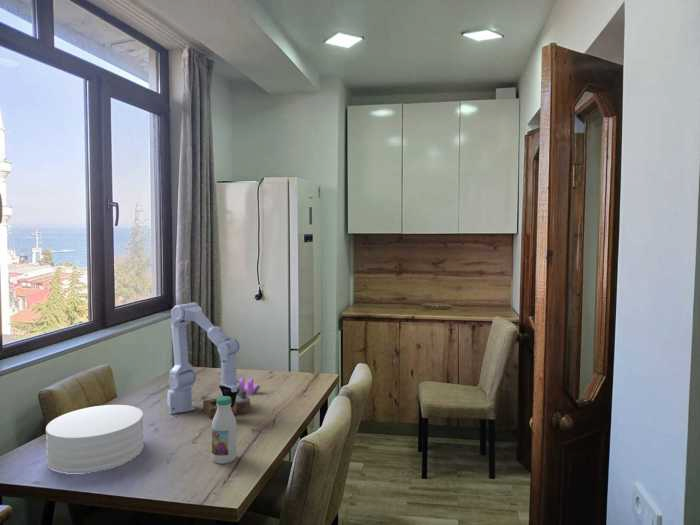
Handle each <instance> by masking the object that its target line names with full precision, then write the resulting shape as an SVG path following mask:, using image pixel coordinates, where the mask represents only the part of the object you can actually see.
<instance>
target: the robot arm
mask: <svg viewBox="0 0 700 525" xmlns="http://www.w3.org/2000/svg"><path fill="white" fill-rule="evenodd" d="M202 309H203V308H202V307H201V306H200V305H199V304H198V303H197V302H195V301H193V302H189V303H182V304H176V305H174V306H173V307H172V308H171V310H170V314H171V315H170V316H171V321H170V322H171V323H170V324H171V326H170V327H171V335H172V348H173V360H174V365H173V367H172V368H171V369H170V371H169V378H168V385H169V387H170V388H171V389H168V390H167V392H166V393H167V394H166V396H167V397H166V399H167V401H166V404H167V407H166V409H167V410H168V412H169V414H171V415H174V414H179V413H180V414H181V413H184V412H185V413H186V412H190V411H195V410H196V408H195V407H194V406H193V390H192V389H193V388H192V387H194V383H196V379H197V375H196V373H195V369H194V368H195V367H194V366H193V365H192V364H190V363H189V351H188V340H187V339H188V338H187V337H188V336H187V325H188V324H189V323H190V322H194V323H195V324H197V325H198V326H199V327H201V329H202V330H204V331H205V332H206V335H207V338H208V339H209V340H210V341H211V342H212V343H213V344H214V345H215V346H216V348H217V352H218V354H219V359H220V370H221V371H220V373H221V374H220V376H221V377H220V385H219V386H218V388H219V389H220V391H221V395H223V396H229V397H231V407H234V404H235V399H236V396H237V394H238V392H239V389H238V388H237V386H238V384H239V382H240V381H239V380H240V379H237V353H238V352H239V350H240V343H239V341H238V339H237V338H235V337H231V336H229V335H228V334H227V333H226V332H224V330H223V328H222V327H221V326H214V324H213V323H212V322H211V321H210V320H209V318H208V317H207V316H206V314H204V312H203V310H202Z"/></svg>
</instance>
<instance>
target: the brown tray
mask: <svg viewBox="0 0 700 525" xmlns="http://www.w3.org/2000/svg"><path fill="white" fill-rule="evenodd" d="M217 398H218V397H216V398H212V399H206V400H205V399H204V400H203V403H202V406H203V407H202V408H203V409H202V410H203V412H204V413H205V414H206V415H207V417H208V418H209V419H210V420H213V418H214V416H215V414H216V411H217V402H216V401H217ZM249 412H250V413H251V401H250V402H245V403H239V404H236V413H234V416H235V415H239V414H245V413H249Z"/></svg>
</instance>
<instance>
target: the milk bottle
mask: <svg viewBox="0 0 700 525" xmlns="http://www.w3.org/2000/svg"><path fill="white" fill-rule="evenodd" d="M216 398H217V401H216V402H217V411H216V414H215V416H214V418H213V419H212V424H211V459H212V462H214V463H215V464H221V465H222V464H230V463H231V462H234V461H235V460H236V459H237V455H238V453H237V452H238V451H237V449H238V446H237V443H238V442H237V441H238V440H237V438H238V437H237V420H236V416H235V415H234V414H233V412H232V410H231V397H229V396H221V397H220V396H219V397H216Z"/></svg>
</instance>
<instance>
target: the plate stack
mask: <svg viewBox="0 0 700 525" xmlns="http://www.w3.org/2000/svg"><path fill="white" fill-rule="evenodd" d="M45 434H46V435H45V441H46V443H45V446H46V466H47V465H48V466H49V467H50V468H52V469H54V470H57V471H61V472H67V473H88V472H89V474H91V473H90V472H95V473H97V472H96V471H100V472H102V471H101V470H104V471H107V470H106V469H108V470H111V469H113V468H117V467H119V466H123V465H124V464H126V462H127V463H129V462H130V461H132V460H133V458H134V459H135V458H137V457H138V456H139V455H141V453H142V452H143V450H144V413H143V411H142V409H140V408H138V407H136V406H132V405H129V404H128V405H127V404H105V405H97V406H96V405H95V406H89V407H84V408H81V409H76V410H73V411H70V412H67V413H64V414H62V415H59V416H57V417H55V418H54V419H52V420H51V421H49V422H48V423H47V425H46V427H45ZM142 449H143V450H142ZM141 451H142V452H141ZM137 455H138V456H137ZM136 456H137V457H136ZM128 461H129V462H128ZM110 468H111V469H110Z"/></svg>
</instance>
